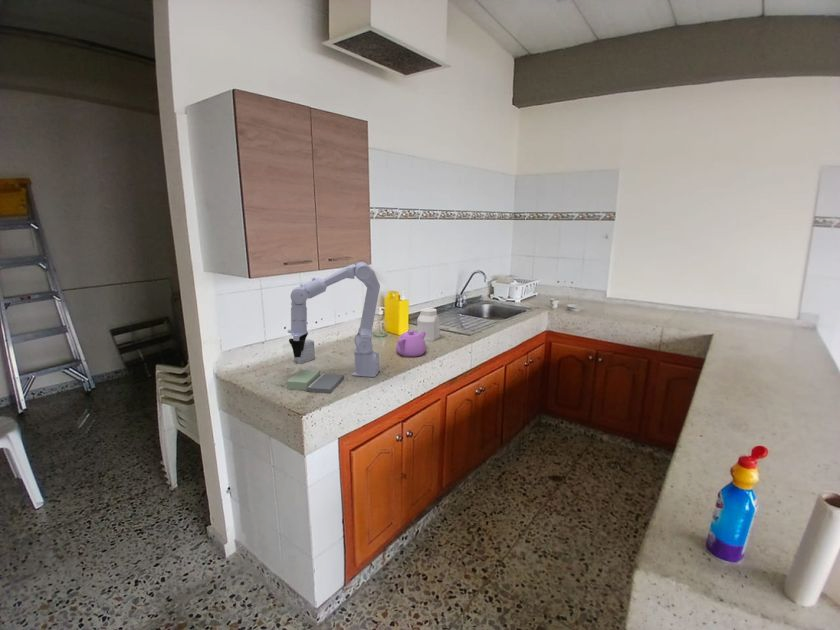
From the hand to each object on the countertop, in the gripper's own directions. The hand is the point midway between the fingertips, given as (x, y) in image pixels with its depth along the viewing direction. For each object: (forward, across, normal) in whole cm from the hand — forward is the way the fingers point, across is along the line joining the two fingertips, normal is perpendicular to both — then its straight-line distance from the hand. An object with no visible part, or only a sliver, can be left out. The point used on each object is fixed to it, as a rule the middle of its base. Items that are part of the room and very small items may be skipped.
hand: (298, 353), depth 160 cm
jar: (+6, -47, +58) cm, 75 cm away
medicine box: (+10, -21, 0) cm, 23 cm away
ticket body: (+9, +8, +11) cm, 16 cm away
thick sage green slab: (+10, +5, +3) cm, 12 cm away
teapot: (+7, -26, +47) cm, 54 cm away
